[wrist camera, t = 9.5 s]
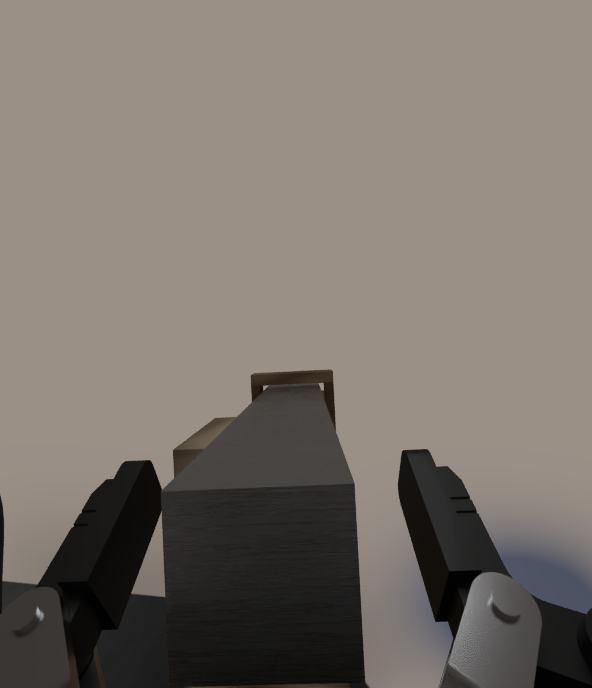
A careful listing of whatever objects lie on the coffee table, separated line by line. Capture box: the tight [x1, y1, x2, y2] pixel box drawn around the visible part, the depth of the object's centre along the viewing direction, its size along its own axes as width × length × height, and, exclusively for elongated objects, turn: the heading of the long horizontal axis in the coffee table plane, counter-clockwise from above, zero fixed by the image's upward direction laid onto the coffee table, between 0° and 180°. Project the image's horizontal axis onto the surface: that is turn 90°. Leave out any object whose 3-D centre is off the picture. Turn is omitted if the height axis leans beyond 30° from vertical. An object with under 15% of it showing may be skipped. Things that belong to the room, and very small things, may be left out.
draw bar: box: [161, 383, 365, 687], centre depth 18 cm, size 4×22×4 cm, turn 178°
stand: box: [173, 370, 349, 688], centre depth 31 cm, size 12×12×37 cm
